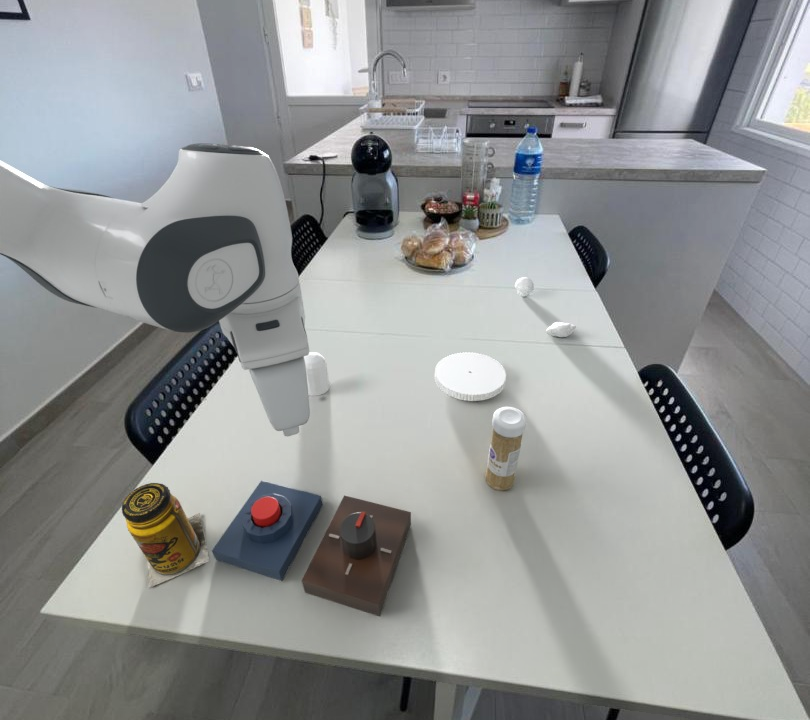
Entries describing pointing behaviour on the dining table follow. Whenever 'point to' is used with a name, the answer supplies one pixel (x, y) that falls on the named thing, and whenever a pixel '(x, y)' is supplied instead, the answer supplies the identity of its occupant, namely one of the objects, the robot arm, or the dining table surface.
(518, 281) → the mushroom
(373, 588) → the dial panel
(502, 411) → the sprinkles bottle
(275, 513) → the button
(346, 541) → the dial
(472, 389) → the plastic lid
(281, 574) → the button housing
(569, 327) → the dumpling
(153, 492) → the condiment
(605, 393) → the dining table surface
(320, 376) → the capsule
